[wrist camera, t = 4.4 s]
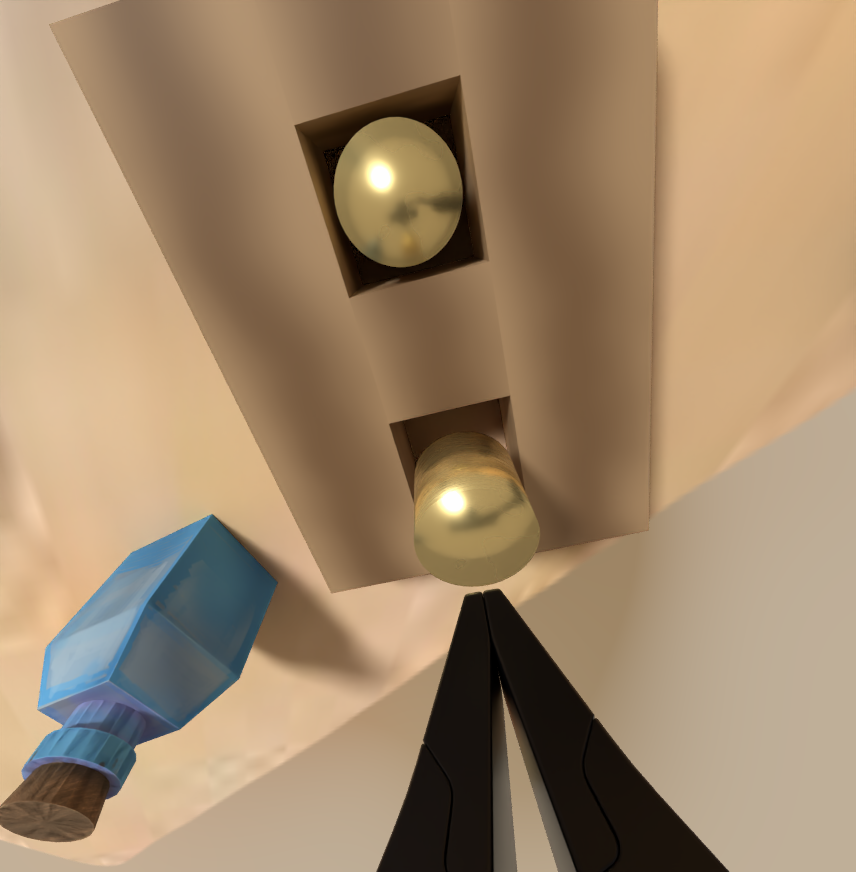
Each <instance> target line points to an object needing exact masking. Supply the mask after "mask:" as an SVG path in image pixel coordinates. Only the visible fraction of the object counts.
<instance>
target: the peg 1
mask: <svg viewBox="0 0 856 872" xmlns="http://www.w3.org/2000/svg"><path fill="white" fill-rule="evenodd" d="M334 200H335V207H336V211H337V215H338V218H339V220H340V223H341V225H342V227H343V229H344V231H345V233H346V235H347V236H348V238H349V239H350V241H351V242H352V243H353V244H354V245H355V247H356V248H358V249H359V250H360V251H361V252H362V253H363V254H364V255H366V256H367V257H369V258H370V259H372V260H374V261H376V262H378V263H381V264H383V265H387V266H392V267H409V266H414V265H417V264H420V263H423V262H425V261H427V260H429V259H430V258H432V257H433V256H435V255H436V254H437V253H438V252H439V251H440V250H441V249H442V248H443V247H444V246H445V245H446V244H447V243H448V241H449V239H450V238H451V236H452V235H453V233H454V231H455V229H456V226H457V224H458V221H459V218H460V213H461V209H462V200H463V190H462V181H461V176H460V172H459V168H458V166H457V163H456V160H455V158H454V156H453V154H452V152H451V151H450V149H449V147H448V146H447V144H446V143H445V142H444V141H443V140H442V138H441V137H440V136H439V135H438V134H437V133H435V132H434V131H433V130H432V129H430V128H429V127H427V126H426V125H424V124H422V123H420V122H418V121H416V120H412V119H409V118H402V117H388V118H384V119H379V120H377V121H374V122H372V123H370V124H368V125H367V126H365V127H363V128H362V129H361V130H360V131H358V132H357V133H356V134H355V135H354V136H353V137H352V138H351V140H350V141H349V142H348V144H347V145H346V147H345V148H344V150H343V152H342V154H341V156H340V159H339V162H338V164H337V168H336V172H335V178H334Z"/></svg>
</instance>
